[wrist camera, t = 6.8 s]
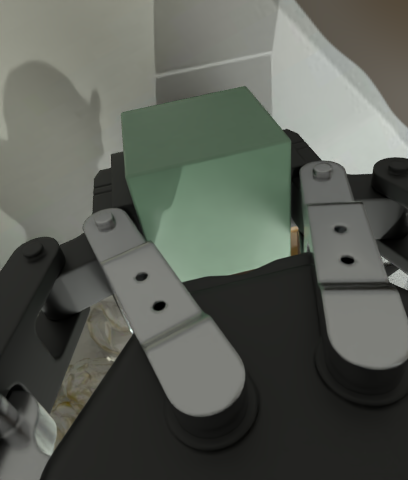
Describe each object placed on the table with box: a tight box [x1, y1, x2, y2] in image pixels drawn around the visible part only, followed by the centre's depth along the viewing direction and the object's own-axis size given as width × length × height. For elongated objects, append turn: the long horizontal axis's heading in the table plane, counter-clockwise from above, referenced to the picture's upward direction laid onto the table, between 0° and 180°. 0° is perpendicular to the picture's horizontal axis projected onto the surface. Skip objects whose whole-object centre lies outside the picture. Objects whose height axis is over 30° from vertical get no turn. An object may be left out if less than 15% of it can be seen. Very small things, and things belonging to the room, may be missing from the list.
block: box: [121, 86, 291, 282], centre depth 13 cm, size 4×4×4 cm
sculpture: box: [38, 295, 132, 450], centre depth 51 cm, size 21×20×25 cm
